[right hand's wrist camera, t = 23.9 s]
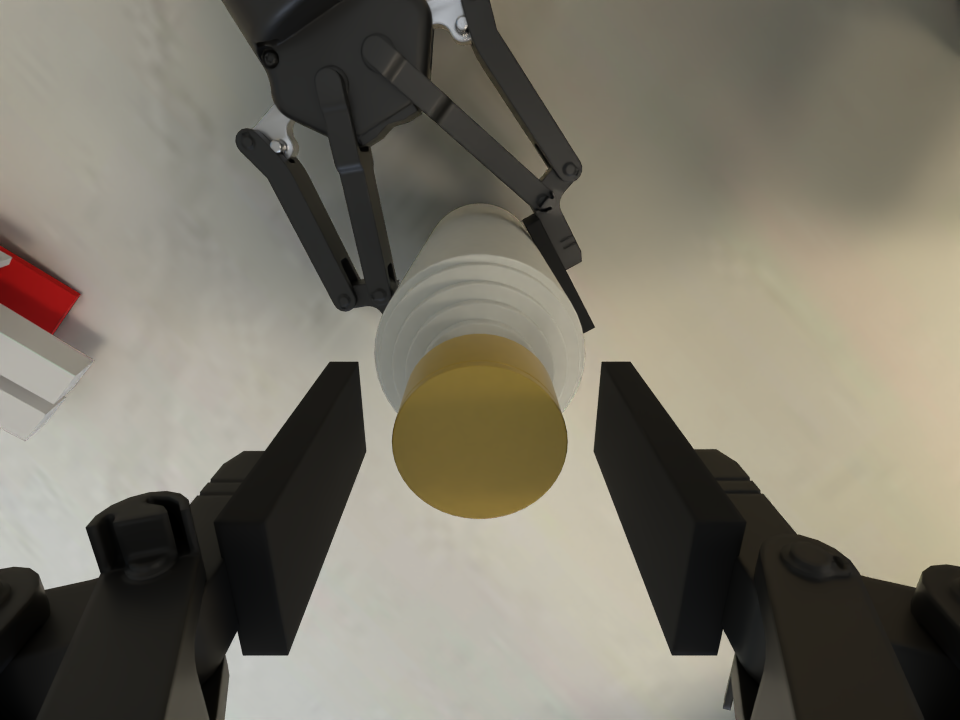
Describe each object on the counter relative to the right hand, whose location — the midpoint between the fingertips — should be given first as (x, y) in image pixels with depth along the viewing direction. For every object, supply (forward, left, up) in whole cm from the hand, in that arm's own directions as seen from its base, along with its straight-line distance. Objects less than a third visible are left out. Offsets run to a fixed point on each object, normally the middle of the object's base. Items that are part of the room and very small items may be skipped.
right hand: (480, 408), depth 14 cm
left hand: (-3, +4, -16) cm, 16 cm away
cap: (0, 0, +2) cm, 2 cm away
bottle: (0, 0, -22) cm, 22 cm away
